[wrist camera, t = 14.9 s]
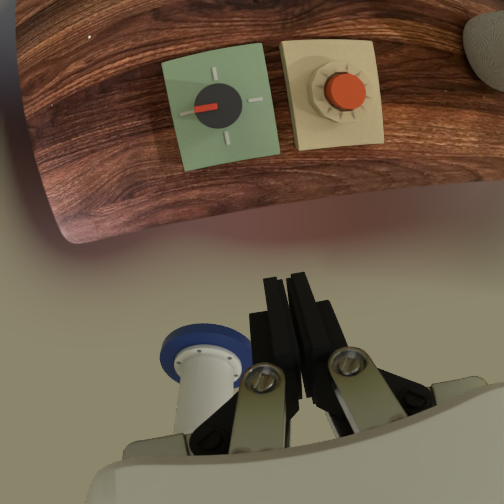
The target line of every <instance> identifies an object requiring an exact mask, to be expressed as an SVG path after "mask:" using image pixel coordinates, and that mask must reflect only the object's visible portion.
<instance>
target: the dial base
mask: <svg viewBox="0 0 504 504" xmlns="http://www.w3.org/2000/svg"><path fill="white" fill-rule="evenodd" d="M162 69H163V74H164V79H165V84H166V89H167V94H168V99H169V104H170V109H171V114H172V118H173V123H174V127H175V132H176V136H177V141H178V145H179V149H180V154H181V158H182V162H183V166H184V171H190V170H194V169H199V168H204V167H209V166H214V165H219V164H224V163H229V162H235V161H240V160H246V159H252V158H258V157H264V156H271V155H277V154H280V148H279V141H278V134H277V128H276V121H275V115H274V109H273V103H272V97H271V91H270V85H269V79H268V74H267V68H266V63H265V57H264V52H263V47H262V43H255V44H248V45H241V46H234V47H228V48H223V49H217V50H212V51H207V52H203V53H198V54H194V55H190V56H186V57H182V58H178V59H174V60H170V61H167V62H163V63H162ZM215 83H223V84H227V85H229V86H231V87H233V88H234V89H235V90H236V91H237V92H238V93H239V94H240V96H241V99H242V112H241V114H240V116H239V118H238V119H237V120H236V121H235V122H234V123H233V124H232V125H230V126H228V127H225V128H221V129H214V128H210V127H207V126H205V125H204V124H202V123H201V122H200V121H199V120H198V118H197V116H196V114H195V111H194V103H195V99H196V97H197V95H198V93H199V92H200V91H201V90H202V89H203V88H205V87H206V86H208V85H211V84H215Z"/></svg>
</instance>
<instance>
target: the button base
mask: <svg viewBox="0 0 504 504" xmlns="http://www.w3.org/2000/svg"><path fill="white" fill-rule="evenodd" d="M279 50H280V55H281V60H282V66H283V72H284V77H285V83H286V89H287V96H288V102H289V108H290V115H291V122H292V129H293V136H294V143H295V148H296V149H298V150H299V151H303V150H311V149H320V148H329V147H339V146H350V145H363V144H379V143H384V134H383V119H382V108H381V98H380V89H379V81H378V74H377V67H376V60H375V54H374V48H373V43H372V41H364V40H339V39H318V40H293V41H282V42H281V43H280V44H279ZM346 73H347V74H352V75H355V76H356V77H358V78H359V79H360V80H361V81H362V82H363V84H364V86H365V89H366V98H365V100H364V102H363V104H362V105H361V106H360V107H358V108H356V109H342V108H338V107H336V106H334V105H333V104H332V103H331V102H330V101H329V100H328V98H327V95H326V85H327V83H328V81H329V80H330V79H331V78H332V77H334V76H336V75H340V74H346Z"/></svg>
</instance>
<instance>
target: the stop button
mask: <svg viewBox="0 0 504 504" xmlns="http://www.w3.org/2000/svg"><path fill="white" fill-rule="evenodd" d="M326 95H327V98H328V100H329V101H330V102H331V103H332V104H333V105H334V106H336V107H338V108H342V109H356V108H358V107H360V106H361V105H362V104H363V102H364V100H365V98H366V89H365V86H364V84H363V82H362V81H361V80H360V79H359V78H358V77H356V76H355V75H352V74H347V73H346V74H340V75H336V76H334V77H332V78H331V79H330V80H329V81H328V83H327V85H326Z"/></svg>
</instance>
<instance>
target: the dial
mask: <svg viewBox="0 0 504 504" xmlns="http://www.w3.org/2000/svg"><path fill="white" fill-rule="evenodd" d="M194 111H195V114H196V116H197V118H198V120H199V121H200V122H201V123H202V124H204V125H205V126H207V127H210V128H214V129H221V128H225V127H228V126H230V125H232V124H233V123H234V122H235V121H236V120H237V119H238V118H239V116H240V114H241V112H242V99H241V96H240V94H239V93H238V92H237V91H236V90H235V89H234V88H233V87H231V86H229V85H227V84H223V83H215V84H211V85H208V86H206V87H205V88H203V89H202V90H201V91H200V92H199V93H198V95H197V97H196V99H195V103H194Z"/></svg>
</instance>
